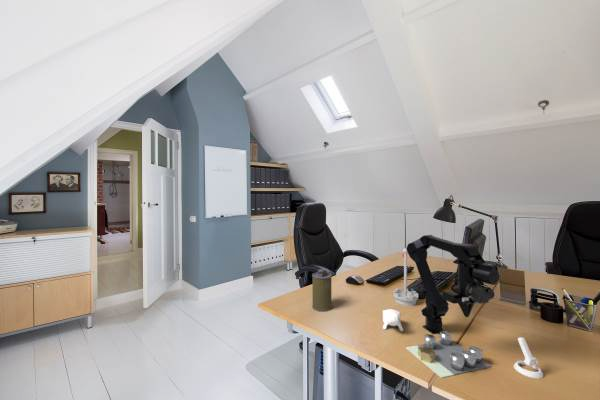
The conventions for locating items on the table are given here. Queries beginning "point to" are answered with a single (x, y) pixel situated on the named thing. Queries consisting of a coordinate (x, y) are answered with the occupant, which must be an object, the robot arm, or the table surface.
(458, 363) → the spacers
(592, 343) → the table surface
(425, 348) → the faceted tan block
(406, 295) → the flag stand
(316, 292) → the canister
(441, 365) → the mat
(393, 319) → the white footed lump
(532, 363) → the white vr controller
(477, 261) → the robot arm
